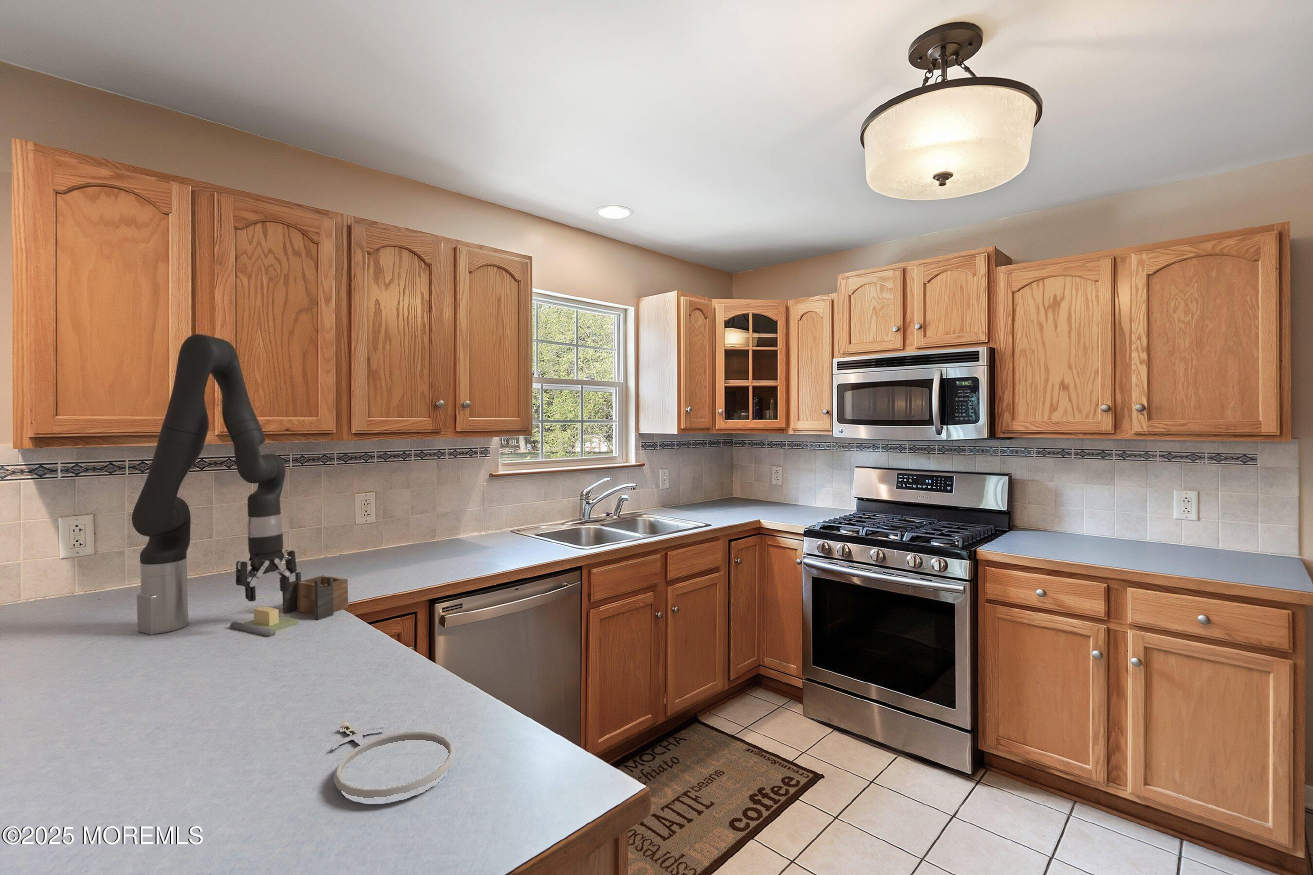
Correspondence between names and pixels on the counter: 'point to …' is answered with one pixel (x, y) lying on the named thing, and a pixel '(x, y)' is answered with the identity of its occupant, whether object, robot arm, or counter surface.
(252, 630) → the lid
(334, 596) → the chest
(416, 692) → the counter surface
